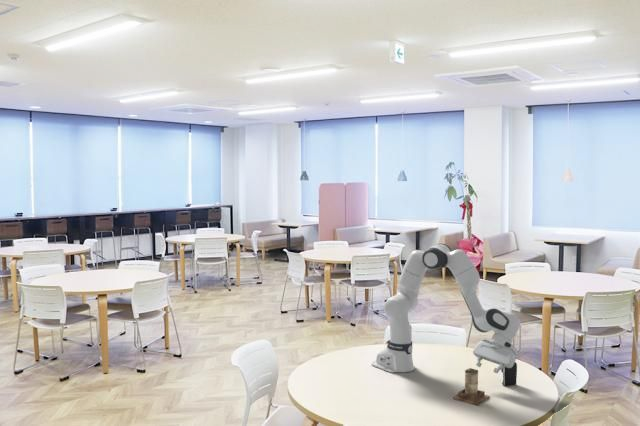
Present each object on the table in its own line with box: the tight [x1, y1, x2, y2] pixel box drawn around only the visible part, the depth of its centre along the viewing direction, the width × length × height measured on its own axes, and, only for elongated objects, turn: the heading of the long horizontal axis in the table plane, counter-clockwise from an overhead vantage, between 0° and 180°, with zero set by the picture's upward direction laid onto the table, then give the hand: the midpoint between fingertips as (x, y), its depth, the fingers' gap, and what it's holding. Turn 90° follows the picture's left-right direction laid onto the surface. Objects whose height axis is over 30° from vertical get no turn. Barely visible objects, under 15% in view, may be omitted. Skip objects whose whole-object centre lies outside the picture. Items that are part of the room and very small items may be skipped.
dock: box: [452, 388, 491, 407], centre depth 259 cm, size 12×12×3 cm
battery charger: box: [500, 361, 518, 387], centre depth 275 cm, size 7×4×11 cm, turn 110°
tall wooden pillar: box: [464, 367, 479, 396], centre depth 259 cm, size 4×4×12 cm
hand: (486, 369), depth 267 cm, fingers open, 8 cm apart
